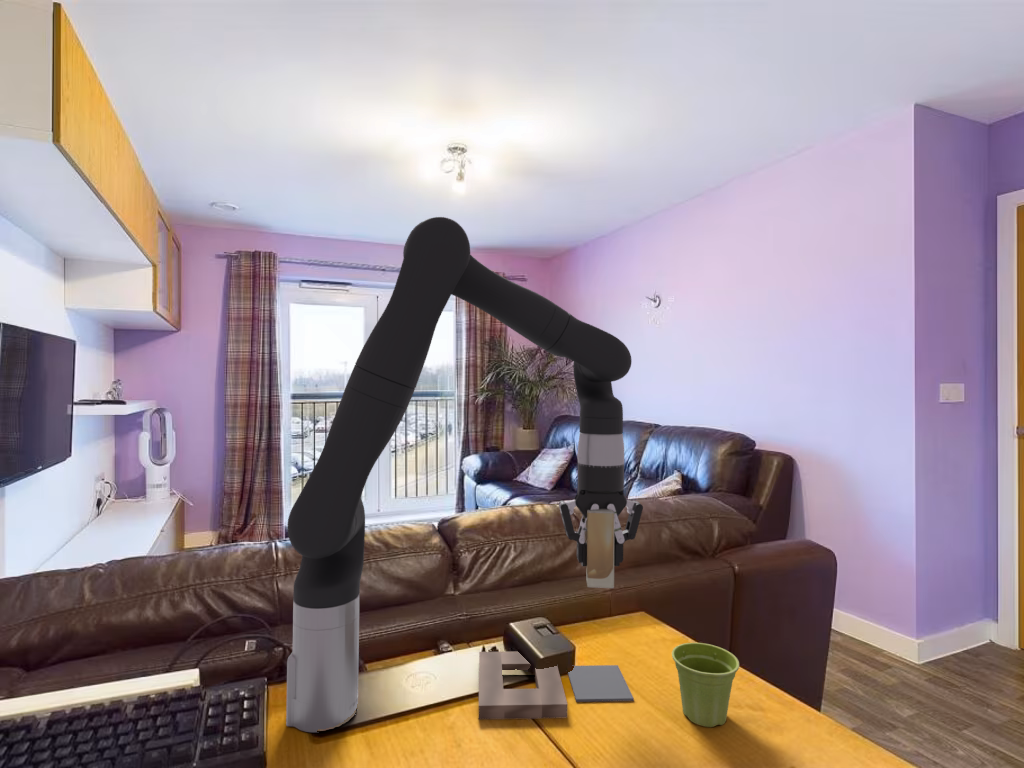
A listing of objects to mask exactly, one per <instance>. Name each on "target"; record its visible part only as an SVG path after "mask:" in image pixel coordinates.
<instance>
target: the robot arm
mask: <svg viewBox="0 0 1024 768" xmlns="http://www.w3.org/2000/svg"><path fill="white" fill-rule="evenodd" d="M402 254H403V255H402V256H403V259H402V263H401V266H400V270H399V272H398V276H397V279H396V282H395V285H394V288H393V291H392V293H391V296H390V299H389V301H388V303H387V305H386V307H385V308H384V310H383V312H382V314H381V315H380V317H379V319H378V320H377V323H375V326H374V327H373V329H372V331H371V332H370V334H369V335H368V338H367V339H366V341H365V343H364V345H363V347H362V349H361V351H360V353H359V355H358V357H357V360H356V362H355V365H354V367H353V369H352V371H351V374H350V376H349V378H348V381H347V382H346V383H347V384H345V385H346V386H345V387H344V391H343V393H342V395H341V396H342V397H341V399H340V401H339V404H338V406H337V409H336V412H335V415H334V417H333V420H332V423H331V424H330V427H329V431H328V434H327V437H326V440H325V442H324V446H323V449H322V450H321V451H322V452H321V453H320V455H319V458H318V459H317V462H316V463H315V466H314V468H313V469H312V471H311V473H310V475H309V477H308V479H307V481H306V482H305V484H304V486H303V488H302V489H301V491H300V493H299V495H298V497H297V499H296V500H295V503H294V504H293V506H292V508H291V509H290V513H289V514H288V518H287V535H288V539H289V542H290V545H291V546H292V547H293V549H294V550H295V552H297V553H298V554H300V556H301V560H300V561H301V562H300V565H299V569H298V571H297V575H296V577H295V580H294V582H293V596H292V597H293V599H292V600H293V602H292V603H293V605H292V608H293V609H292V652H291V653H290V655H289V656H288V658H287V661H286V709H285V710H286V716H285V717H286V718H285V722H286V723H285V725H286V727H294V728H296V729H298V730H299V731H301V732H307V733H318V732H317V730H318V729H326V728H329V727H334V726H336V725H338V724H339V723H342V722H344V720H346V719H347V718H348V717H350V716H351V715H352V714H353V713H354V711H355V710H356V708H357V704H358V703H359V657H360V656H359V655H360V654H359V652H360V649H359V648H360V647H359V646H360V644H359V643H360V641H359V640H360V590H361V589H360V587H361V579H362V574H363V569H364V561H365V539H366V537H365V536H366V513H365V506H364V503H363V500H362V498H361V497H362V495H363V491H364V489H365V486H366V484H367V481H368V478H369V476H370V474H371V472H372V470H373V468H374V467H375V464H376V462H377V461H378V459H379V458H380V456H381V455H382V453H383V452H384V450H385V448H386V447H387V445H388V443H389V442H390V441H391V439H392V437H393V436H394V433H396V430H397V429H398V427H399V425H400V423H401V421H402V420H403V417H404V415H406V414H405V413H406V411H407V410H408V407H409V404H410V403H411V401H412V397H413V395H414V392H415V390H416V388H417V384H418V382H419V379H420V376H421V373H422V372H423V371H422V370H423V369H424V366H425V363H426V360H427V357H428V354H429V350H430V347H431V343H432V340H433V337H434V334H435V331H436V328H437V324H438V322H439V320H440V318H441V315H442V314H443V311H444V309H445V308H446V306H447V304H448V301H449V300H450V297H451V296H455V298H456V297H457V298H459V299H461V300H462V301H465V302H467V303H469V304H470V305H472V306H474V307H475V308H478V309H479V310H481V311H483V312H485V313H486V314H488V315H490V316H491V317H493V318H495V319H496V320H498V321H499V322H500V323H502V324H504V325H505V326H506V327H508V328H510V329H512V330H513V331H514V332H515V333H517V334H519V336H521V337H523V338H525V339H527V340H528V341H530V342H532V343H533V344H534V345H536V346H538V347H539V348H541V349H542V350H544V351H545V352H547V353H549V354H551V355H553V356H556V357H559V358H560V357H561V358H566V359H568V360H570V361H572V362H573V367H572V368H573V369H572V370H573V378H574V383H575V389H576V394H577V399H578V403H579V435H578V445H577V453H576V459H577V492H576V495H575V497H574V499H572V500H571V499H570V500H568V501H564V500H560V501H559V502H558V508H559V512H560V515H561V519H562V523H563V527H564V532H565V535H566V536H567V538H568V540H570V541H574V542H576V559H577V561H578V563H580V564H581V567H586V566H587V510H590V511H596V510H599V509H607V510H612V511H614V567H619V566H621V565H620V564H621V563H623V561H624V543H625V542H626V541H629V540H630V541H631V540H632V541H633V540H635V538H636V535H637V533H638V532H637V531H638V528H639V524H640V521H641V518H642V514H643V509H644V506H643V504H642V503H640V502H639V501H637V500H629V499H627V497H626V496H625V442H624V434H623V433H624V409H623V404H622V402H621V400H619V399H618V398H617V397H615V395H614V392H613V385H612V382H615V381H619V380H621V379H622V378H624V377H625V376H627V374H628V373H629V371H630V369H631V366H632V355H631V352H630V350H629V349H628V347H627V345H626V344H625V343H624V342H623V341H622V340H621V339H619V338H618V337H617V336H615V335H613V334H611V333H610V332H607V331H605V330H603V329H600V328H599V327H597V326H594V325H593V324H589V323H587V322H585V321H582V320H580V319H578V318H576V317H575V316H573V314H571V313H569V312H568V311H567V310H565V309H563V307H560V306H559V305H558V304H556V303H554V302H553V301H552V300H550V299H548V298H547V297H545V296H544V295H541V294H539V293H538V292H536V291H533V290H531V289H529V288H527V287H525V286H522V285H521V284H518V283H516V282H514V281H511V280H510V279H508V278H506V277H504V276H502V275H500V274H499V273H497V272H495V271H493V270H491V269H490V268H489V267H487V266H486V265H484V264H483V263H481V262H480V261H479V260H478V259H476V258H475V257H474V256H473V255H472V254H471V245H470V241H469V237H468V235H467V232H466V231H465V229H464V228H463V226H462V225H460V223H458V222H457V221H456V220H454V219H452V218H449V217H444V216H435V217H430V218H427V219H425V220H423V221H420V222H419V223H418V224H416V225H415V226H414V228H413V229H412V230H411V231H410V233H409V235H408V237H407V238H406V240H405V244H404V246H403V253H402ZM575 507H577V509H578V510H579V512H580V513H581V514H582V516H581V518H580V522H579V527H578V529H577V530H574V525H573V521H572V517H571V515H573V514H574V510H575ZM625 508H626V512H627V514H628V515H627V519H626V524H625V528H624V530H622V526H621V523H620V520H619V516H620V514H621V513H622V512H623V510H624V509H625ZM358 705H359V704H358Z"/></svg>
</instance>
